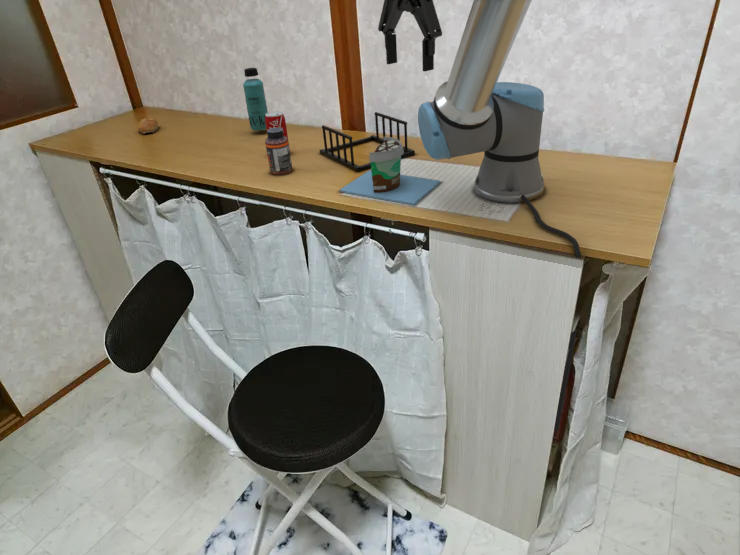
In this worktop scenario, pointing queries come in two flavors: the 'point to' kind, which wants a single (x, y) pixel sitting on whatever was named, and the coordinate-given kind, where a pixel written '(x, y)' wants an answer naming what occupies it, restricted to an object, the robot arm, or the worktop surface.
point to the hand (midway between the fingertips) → (409, 66)
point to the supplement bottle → (278, 152)
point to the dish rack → (330, 151)
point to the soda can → (276, 121)
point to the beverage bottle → (255, 100)
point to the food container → (386, 165)
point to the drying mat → (405, 193)
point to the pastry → (148, 125)
